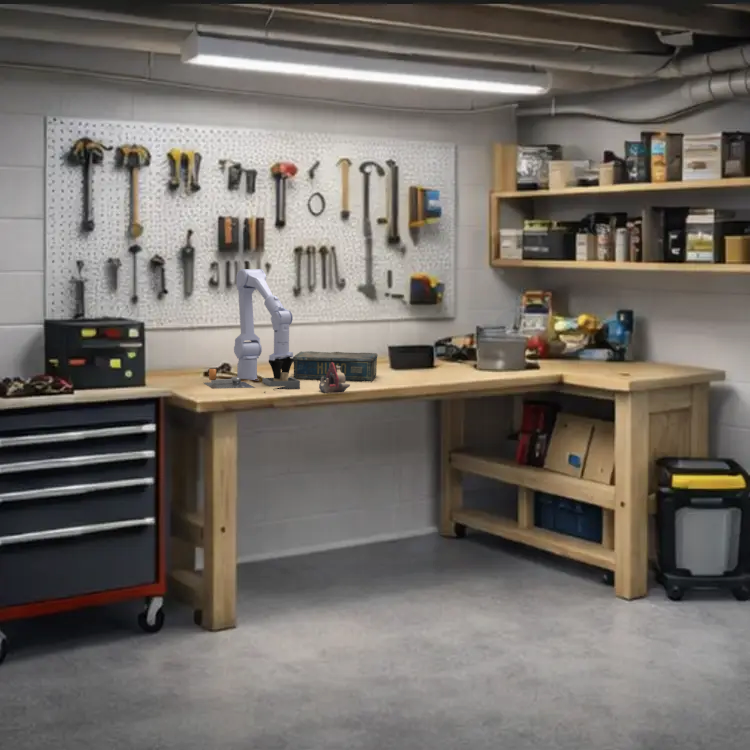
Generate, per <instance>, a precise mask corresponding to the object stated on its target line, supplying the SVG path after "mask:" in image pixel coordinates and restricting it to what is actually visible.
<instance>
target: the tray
mask: <svg viewBox="0 0 750 750" xmlns="http://www.w3.org/2000/svg"><path fill="white" fill-rule="evenodd" d="M262 384H264V385H266V386H268V387H271V388H272V387H274V390H299V389H301V380H297V379H295V378H294V377H291V376H288V381H274V377H262Z"/></svg>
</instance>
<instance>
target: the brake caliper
mask: <svg viewBox="0 0 750 750" xmlns="http://www.w3.org/2000/svg"><path fill="white" fill-rule="evenodd" d="M331 373H332V374H331ZM330 375H331V377H330ZM318 385H319V386H318V388H319V390H320V392H322V393H325V394H330V395H331V394H337V395H338V394H349V393H350V392H349V391H346V390H347V389H348V388H349V387H351V384H350V383H346V381H345V375H344V373H341V371H340V366H336V368H335V366H334V363H333V362H331V364H330V367H329V369H328V372H327V375H326V380H324V377H322V378H321V380H319V384H318Z"/></svg>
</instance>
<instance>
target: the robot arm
mask: <svg viewBox="0 0 750 750" xmlns="http://www.w3.org/2000/svg"><path fill="white" fill-rule="evenodd" d="M236 290H237V293H238V308H239V310H238V311H239V324H240V325H239V326H240V327H239V329H240V334H239V335H238V336H236V337H235V339H234V346H233V353H234V355H235V356H236V359H238V361H237V367H236V368H237V370H236V371H237V374H236V375H237V376H236V377H241V380H252V381H256V380H255V379H258V359H259V357H260V356H261V354H262V351H263V348H262V344H261V339H260V337H259V336H258V335H257V334H256V333H255V324H254V323H255V322H254V320H255V319H254V309H253V308H254V305H253V303H254V302H253V293H254V292H255V291H256V290H257V291H258V293H259V295H261V297H262V298H263V300H264V302H263V303H264V306H265V308H266V310H267V311H268V313H269V314H270V316H271V317H270V321H271V324H272V330H273V353H272V354H269V355H268V363H269V365H270V368H271V370H272V374H273V378H275V379H280V376H281V372H286V373H288V375H289V373H290V370H291V367H292V366H293V364H294V362H293V361H294V358H293V357H294V352H293V351H290V325H291V324H292V323H293V314H292V310H290V309H288V308H285V307H284V305H283V303H282V302H281V301H280V299H279V297H278V296H277V295H273V293H272V290H271V289H270V286H269V284H268V283H267V275H266V273H265V271H264V269H262V268H257V269H256V268H255V269H253V268H248V269H246V268H245V269H244V268H241V269H239V270H238V271H237V273H236Z"/></svg>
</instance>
